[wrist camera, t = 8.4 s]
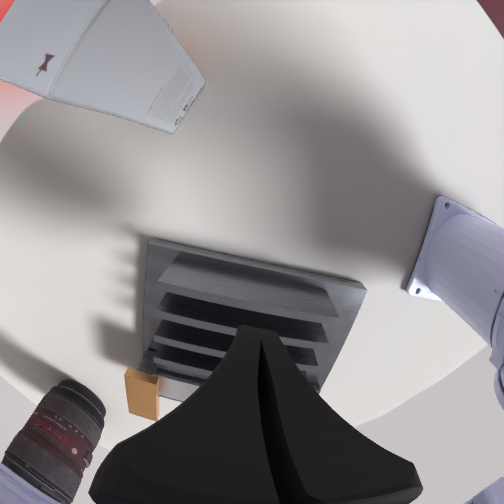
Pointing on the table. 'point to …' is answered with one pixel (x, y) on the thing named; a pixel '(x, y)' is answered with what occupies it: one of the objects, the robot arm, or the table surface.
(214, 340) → the heatsink
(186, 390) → the clip
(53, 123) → the table surface
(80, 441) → the camera lens
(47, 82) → the skincare box
